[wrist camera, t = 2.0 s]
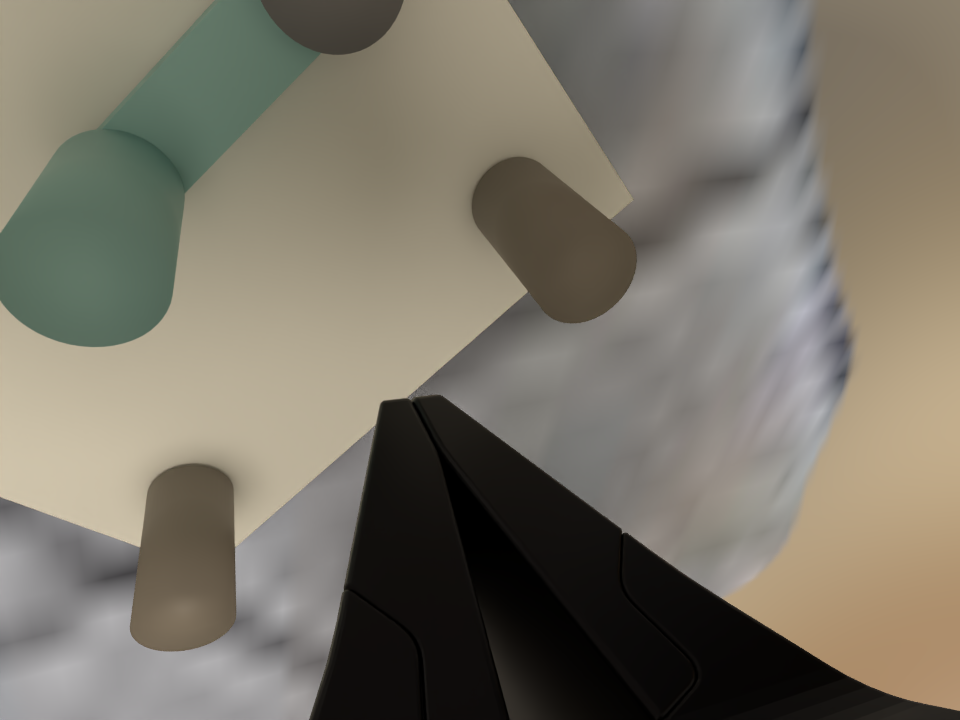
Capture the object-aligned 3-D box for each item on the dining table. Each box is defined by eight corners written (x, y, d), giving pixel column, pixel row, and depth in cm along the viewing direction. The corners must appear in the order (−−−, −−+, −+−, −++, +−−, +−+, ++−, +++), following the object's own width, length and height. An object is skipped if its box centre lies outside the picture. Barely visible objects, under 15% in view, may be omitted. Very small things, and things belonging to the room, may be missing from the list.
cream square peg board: (601, 176, 20) (729, 268, 15) (208, 526, 23) (204, 701, 18) (-44, -804, 8) (-453, -1890, 3) (-666, 165, 11) (-1375, 373, 6)
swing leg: (319, -164, 11) (368, -199, 7) (418, -25, 13) (500, 5, 9) (22, 166, 13) (-65, 278, 9) (148, 252, 14) (121, 377, 11)
